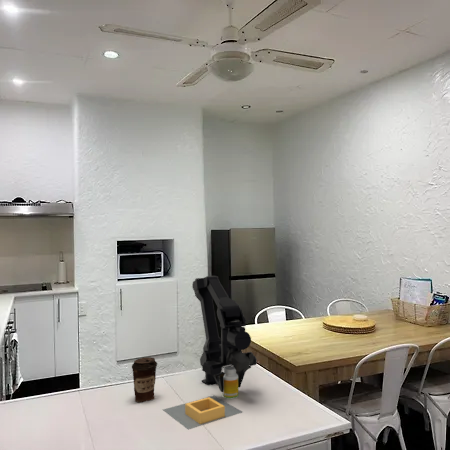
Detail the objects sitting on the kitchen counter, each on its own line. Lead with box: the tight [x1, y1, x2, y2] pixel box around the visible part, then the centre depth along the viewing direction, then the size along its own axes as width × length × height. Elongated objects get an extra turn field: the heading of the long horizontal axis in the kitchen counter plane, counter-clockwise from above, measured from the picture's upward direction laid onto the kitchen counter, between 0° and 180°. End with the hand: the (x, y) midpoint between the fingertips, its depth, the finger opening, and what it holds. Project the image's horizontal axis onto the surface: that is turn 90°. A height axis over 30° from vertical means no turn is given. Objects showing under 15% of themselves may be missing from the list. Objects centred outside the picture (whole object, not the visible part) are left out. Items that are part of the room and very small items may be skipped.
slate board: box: [162, 395, 243, 430], centre depth 126 cm, size 16×19×1 cm
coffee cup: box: [131, 356, 158, 403], centre depth 137 cm, size 9×8×13 cm
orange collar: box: [184, 396, 225, 424], centre depth 123 cm, size 8×8×3 cm
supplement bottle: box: [221, 366, 240, 400], centre depth 138 cm, size 5×5×10 cm
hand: (230, 389), depth 138 cm, fingers open, 7 cm apart
